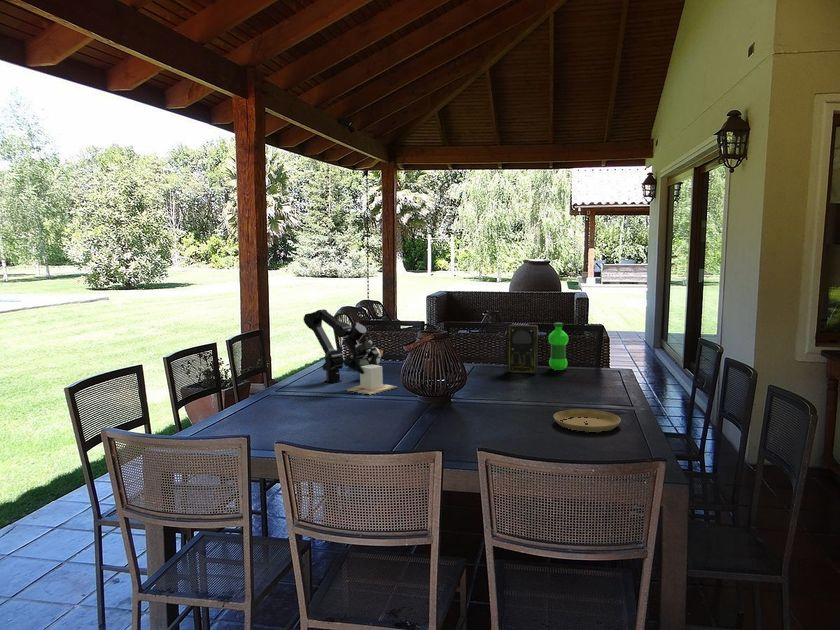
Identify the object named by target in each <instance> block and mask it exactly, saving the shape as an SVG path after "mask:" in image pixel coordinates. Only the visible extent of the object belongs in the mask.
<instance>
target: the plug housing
mask: <svg viewBox="0 0 840 630" xmlns="http://www.w3.org/2000/svg"><path fill="white" fill-rule="evenodd" d="M361 368H362V370H363V372H364V374H361V373H359V377H360V378H359V383H360V388H364V389H369V390H373V389H377V388H381V387H383V384H384V383H383V382H384V381H383V375H384V374H383V366H382V365H379V364H378V365H372V364H371V365H366V366H361Z"/></svg>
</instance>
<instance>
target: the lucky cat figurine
mask: <svg viewBox="0 0 840 630" xmlns="http://www.w3.org/2000/svg"><path fill="white" fill-rule="evenodd" d="M373 350H377V351H378V352H379V355H378V358H379V360H380V361H381V358H382V357H383V353H384V349H382V348H380V349H379V348H378V347H376V346H373V347H372V349H369V350H367V351H368V352H367V353H366V355H367V354H368V353H369V352H370V351H373ZM364 360H366V359H364ZM358 363H359V365H360V366H361V364H360V360H358Z"/></svg>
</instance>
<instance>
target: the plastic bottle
mask: <svg viewBox="0 0 840 630" xmlns="http://www.w3.org/2000/svg"><path fill="white" fill-rule="evenodd" d="M553 326H554V328H555V329H554V330H553V331H551V332H550V333H549V334H548V336H547V338H548V343H549V344H550V358H549V360H548V365H549V367H550V368H551V369H552V370H553V369H554V370H553V371H556V370H562V371H564V370H565V369H566V368H567V367H568V365H569V363H568V359H567V344H568V343H569V340H570V339H569V336H568V334H567V333H566V332H565V331H564V330H563V329H562V328H564V327H563V326H564V323H563V322H554V325H553Z"/></svg>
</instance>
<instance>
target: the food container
mask: <svg viewBox="0 0 840 630" xmlns="http://www.w3.org/2000/svg"><path fill="white" fill-rule="evenodd" d="M376 361H377V365H378V366H379V364H380V362H381V359H380V360H379V358H378V357H377V359H376ZM360 364H361V366H366V365H370V364H369V363H368V361H367V360H360Z"/></svg>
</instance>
